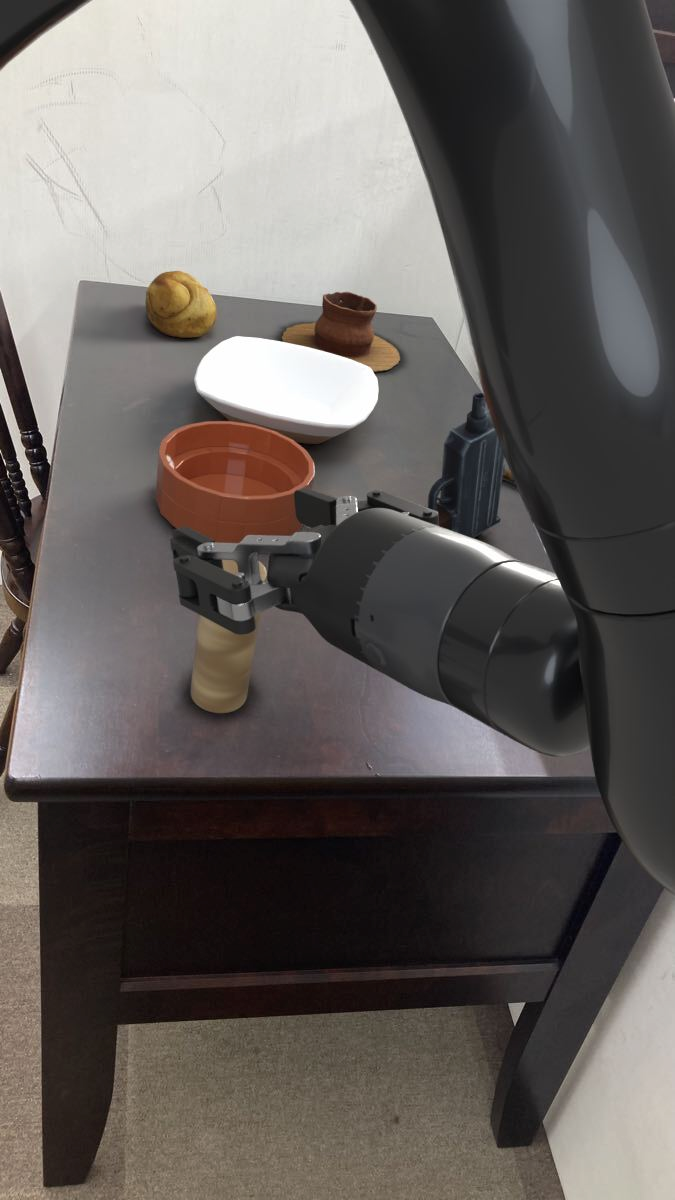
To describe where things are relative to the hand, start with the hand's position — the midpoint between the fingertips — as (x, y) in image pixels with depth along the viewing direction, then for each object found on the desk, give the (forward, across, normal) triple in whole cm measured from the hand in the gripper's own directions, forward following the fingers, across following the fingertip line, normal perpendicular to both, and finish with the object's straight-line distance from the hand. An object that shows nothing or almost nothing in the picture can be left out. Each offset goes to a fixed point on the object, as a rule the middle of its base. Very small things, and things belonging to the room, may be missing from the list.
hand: (241, 522), depth 54 cm
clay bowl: (+32, -17, +12) cm, 38 cm away
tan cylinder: (+10, -2, +17) cm, 20 cm away
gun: (+19, -34, +18) cm, 42 cm away
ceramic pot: (+63, -56, +6) cm, 84 cm away
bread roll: (+74, -36, 0) cm, 83 cm away
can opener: (+28, -51, +16) cm, 61 cm away
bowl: (+47, -34, +9) cm, 59 cm away
